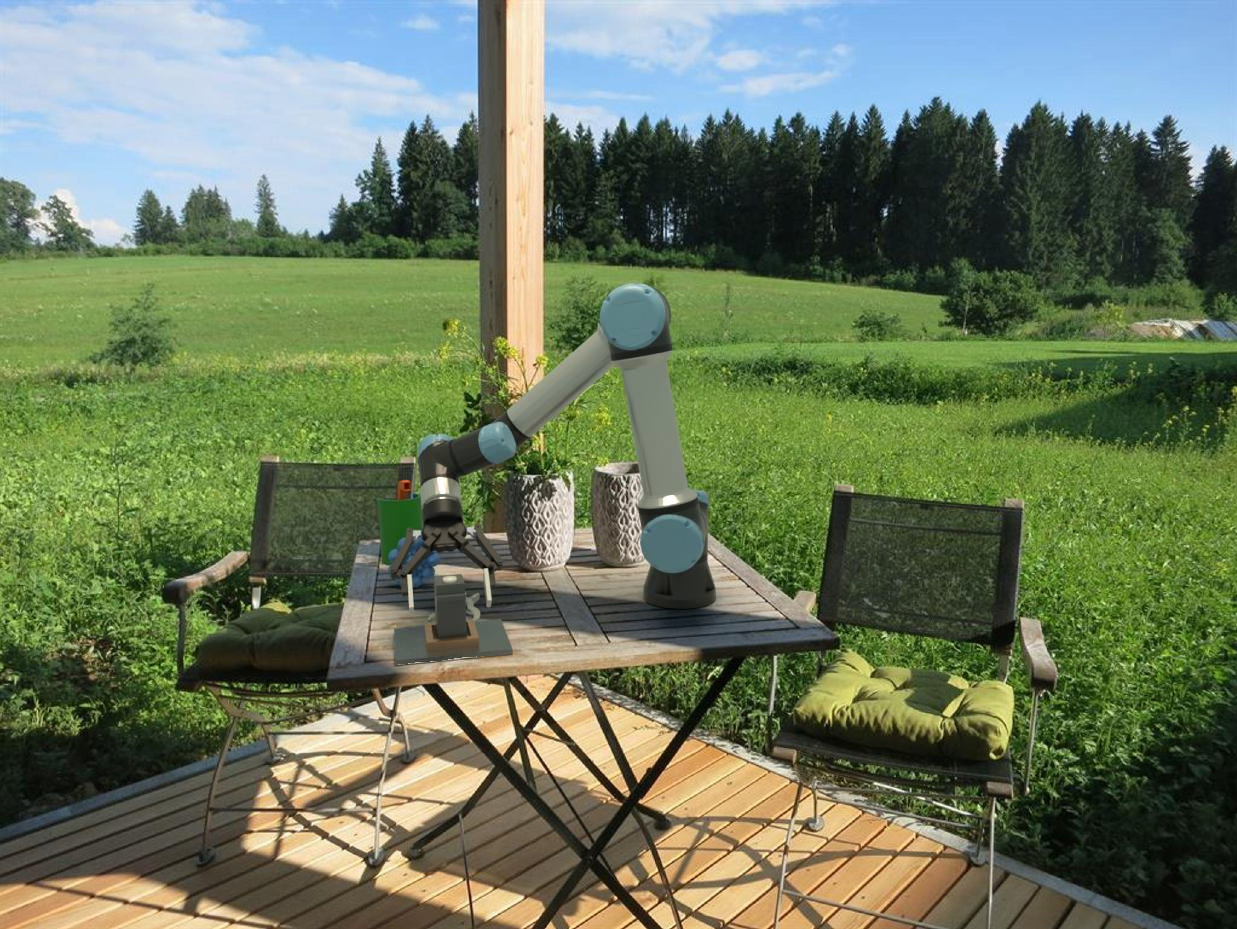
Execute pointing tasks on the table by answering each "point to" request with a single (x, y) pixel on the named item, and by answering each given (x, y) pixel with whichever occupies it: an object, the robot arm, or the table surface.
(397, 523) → the green pencil holder
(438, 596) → the servo
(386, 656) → the table surface
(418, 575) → the grapes
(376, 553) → the table surface
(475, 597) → the pliers
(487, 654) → the plate
